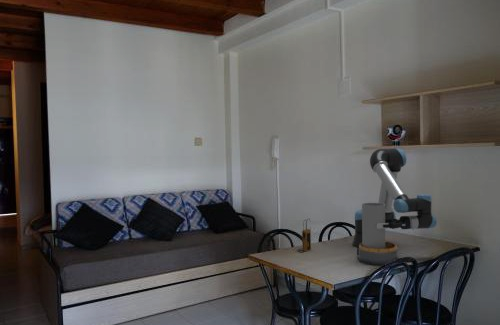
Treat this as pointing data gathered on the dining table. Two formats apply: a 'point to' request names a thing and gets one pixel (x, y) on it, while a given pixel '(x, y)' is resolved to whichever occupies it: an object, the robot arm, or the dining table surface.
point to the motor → (377, 254)
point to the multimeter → (306, 239)
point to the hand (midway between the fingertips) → (371, 224)
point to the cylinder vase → (373, 225)
